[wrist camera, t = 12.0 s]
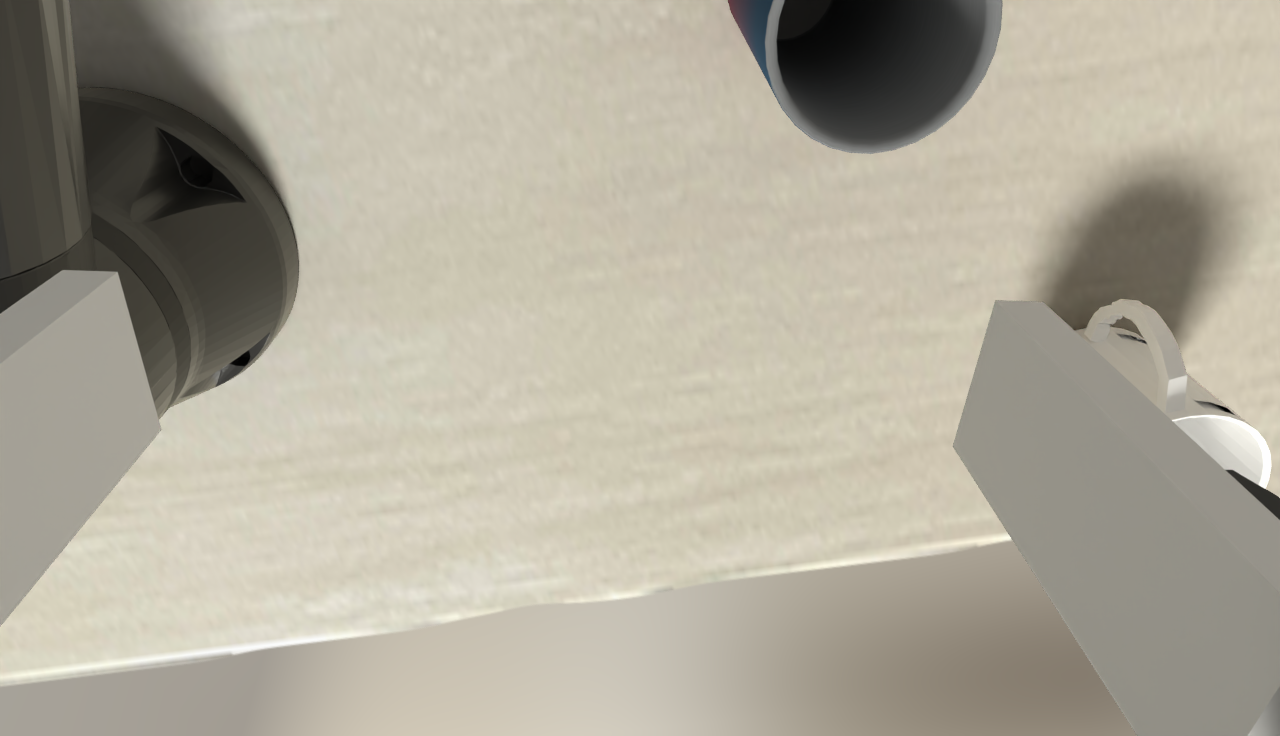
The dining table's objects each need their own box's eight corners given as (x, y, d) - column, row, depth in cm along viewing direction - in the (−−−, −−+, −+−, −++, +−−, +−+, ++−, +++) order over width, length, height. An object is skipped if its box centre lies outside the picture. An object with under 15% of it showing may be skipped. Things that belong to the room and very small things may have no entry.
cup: (722, -116, 35) (796, -122, 22) (878, -90, 35) (1040, -79, 22) (693, 54, 38) (742, 138, 25) (837, 75, 39) (956, 168, 26)
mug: (1125, 457, 51) (1225, 564, 43) (981, 454, 50) (1055, 562, 42) (1202, 276, 45) (1335, 361, 37) (1040, 271, 44) (1138, 355, 36)
